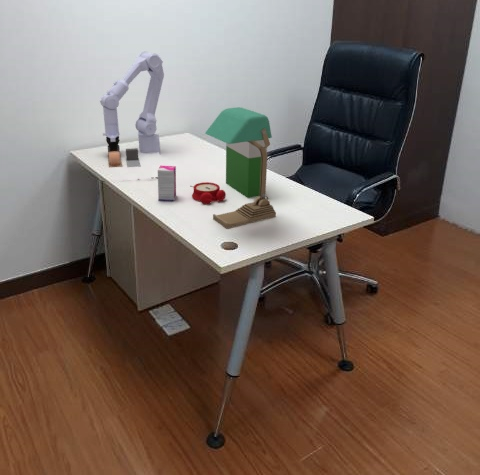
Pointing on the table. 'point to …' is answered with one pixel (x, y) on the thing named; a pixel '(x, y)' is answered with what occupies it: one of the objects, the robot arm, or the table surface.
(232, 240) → the table surface
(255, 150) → the hardback book
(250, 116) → the banker's lamp
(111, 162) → the terracotta canister
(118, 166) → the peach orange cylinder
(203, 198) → the alarm clock
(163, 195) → the supplement box
